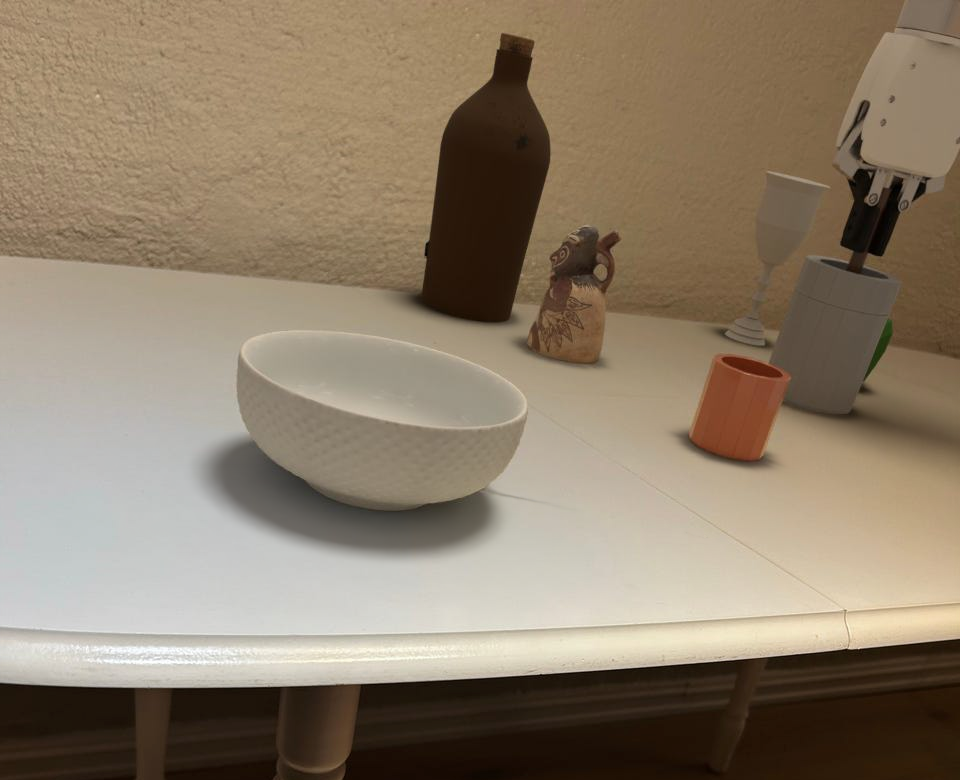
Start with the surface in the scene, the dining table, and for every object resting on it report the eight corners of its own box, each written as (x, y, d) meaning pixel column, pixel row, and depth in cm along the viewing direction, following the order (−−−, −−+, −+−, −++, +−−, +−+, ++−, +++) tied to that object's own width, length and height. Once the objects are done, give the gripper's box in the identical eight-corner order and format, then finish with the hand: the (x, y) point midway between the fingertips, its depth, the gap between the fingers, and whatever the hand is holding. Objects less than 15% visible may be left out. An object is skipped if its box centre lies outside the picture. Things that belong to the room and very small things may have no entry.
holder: (752, 446, 87) (781, 364, 83) (766, 472, 82) (798, 386, 78) (682, 431, 87) (709, 348, 83) (692, 456, 81) (721, 369, 78)
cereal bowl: (559, 522, 64) (588, 413, 61) (346, 571, 53) (367, 440, 50) (385, 421, 74) (402, 321, 70) (173, 444, 62) (180, 327, 59)
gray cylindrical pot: (836, 397, 108) (885, 270, 102) (859, 425, 100) (914, 288, 94) (752, 379, 108) (797, 249, 101) (769, 405, 100) (819, 266, 93)
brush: (801, 364, 103) (867, 182, 95) (826, 370, 103) (894, 189, 95) (806, 371, 101) (874, 185, 93) (832, 377, 101) (902, 192, 93)
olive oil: (534, 321, 110) (594, 54, 97) (477, 330, 101) (536, 40, 89) (453, 291, 114) (502, 32, 102) (393, 298, 106) (438, 17, 93)
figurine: (537, 338, 103) (566, 212, 98) (604, 359, 102) (638, 231, 96) (515, 351, 97) (545, 217, 91) (587, 373, 96) (622, 238, 90)
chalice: (711, 337, 122) (763, 172, 113) (717, 327, 127) (767, 169, 118) (772, 354, 120) (829, 189, 111) (776, 343, 126) (831, 185, 117)
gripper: (984, 42, 93) (902, 254, 102) (843, 2, 88) (769, 229, 97) (1045, 49, 87) (951, 273, 97) (898, 6, 82) (813, 248, 91)
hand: (861, 250), depth 97 cm, fingers closed on brush, 1 cm apart
